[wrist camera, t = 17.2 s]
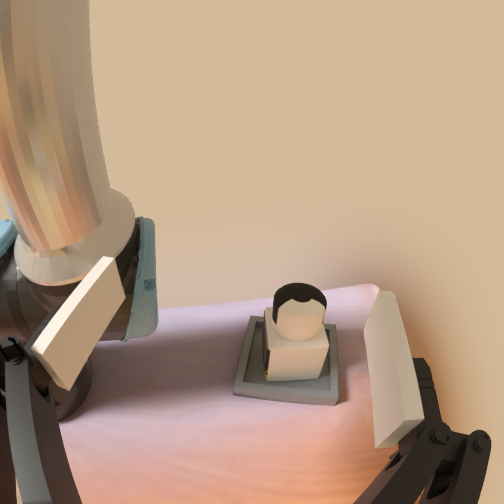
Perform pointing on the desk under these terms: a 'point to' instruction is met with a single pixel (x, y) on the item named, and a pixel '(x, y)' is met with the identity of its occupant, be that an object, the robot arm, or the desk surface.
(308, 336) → the medicine bottle
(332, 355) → the bottle tray
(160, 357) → the desk surface
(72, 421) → the desk surface
